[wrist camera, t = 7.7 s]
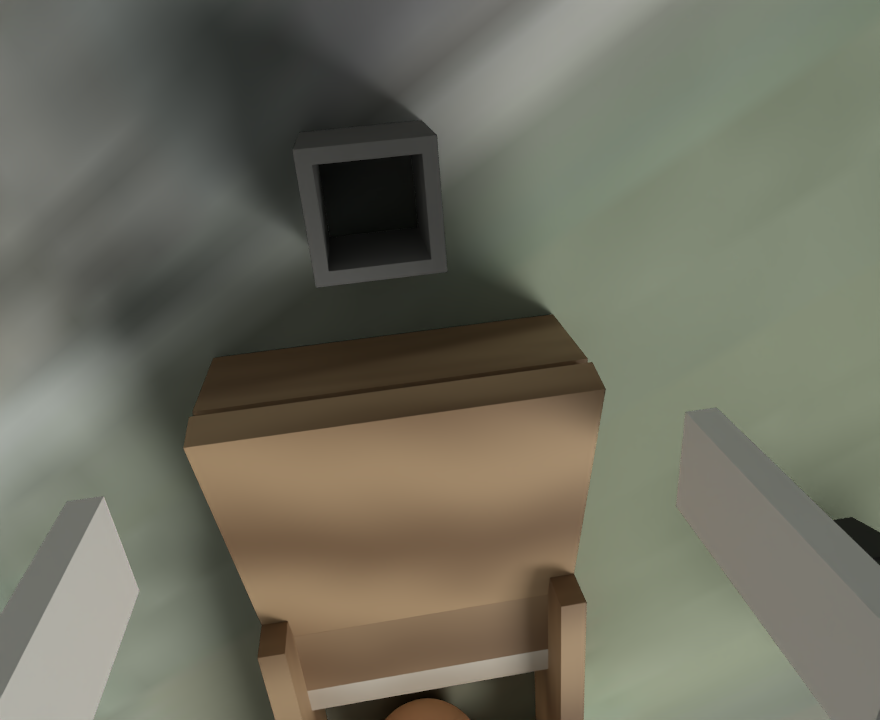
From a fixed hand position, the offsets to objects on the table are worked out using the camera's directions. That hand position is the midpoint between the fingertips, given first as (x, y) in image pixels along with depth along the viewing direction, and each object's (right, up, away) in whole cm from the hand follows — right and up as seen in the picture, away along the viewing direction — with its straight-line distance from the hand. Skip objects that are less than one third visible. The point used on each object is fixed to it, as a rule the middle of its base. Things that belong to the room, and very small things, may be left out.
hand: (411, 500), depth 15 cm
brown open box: (0, -4, +8) cm, 9 cm away
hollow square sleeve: (-1, +8, +2) cm, 8 cm away
